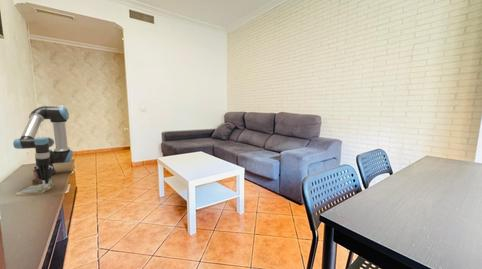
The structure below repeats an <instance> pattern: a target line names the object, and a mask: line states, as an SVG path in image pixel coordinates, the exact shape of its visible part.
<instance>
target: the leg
mask: <svg viewBox="0 0 482 269" xmlns="http://www.w3.org/2000/svg"><path fill="white" fill-rule="evenodd" d="M48 182H49V183H48V186H49V185H52V184H53V180H52V178H50V179H48ZM42 189H44V188H43V184H40V185H38V186H37V187H36V191H41V190H42Z"/></svg>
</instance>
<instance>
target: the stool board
mask: <svg viewBox="0 0 482 269" xmlns="http://www.w3.org/2000/svg"><path fill="white" fill-rule="evenodd" d="M31 182H32V184H31V185H30V186H28V187H27V188H31V187H37V186H38V185H40V180H39V179H35V178H34V179H32V181H31ZM54 187H55V183H52V185H49V186H48V187H47V188H44V189H42V190H41V191H34V192H30V193H21V192H20V191H18V192H16V193H15V194H16V197H24V196H27V197H28V196H40V195H42V194H43V193H45V192H47V191H49V190H50V189H52V188H54Z"/></svg>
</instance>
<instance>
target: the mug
mask: <svg viewBox="0 0 482 269" xmlns="http://www.w3.org/2000/svg"><path fill="white" fill-rule="evenodd" d="M32 172H33V176H34V179H38V176H37V173H36V170H35V169H34V168H32ZM52 172H53V170H52ZM39 180H40V184H42V180H41V179H39Z"/></svg>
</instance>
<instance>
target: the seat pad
mask: <svg viewBox="0 0 482 269" xmlns="http://www.w3.org/2000/svg"><path fill="white" fill-rule="evenodd" d="M34 191H36V187H31V188H28V187H26V188H24V189H21V190H20V191H19V192H21V193H30V192H34Z"/></svg>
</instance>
